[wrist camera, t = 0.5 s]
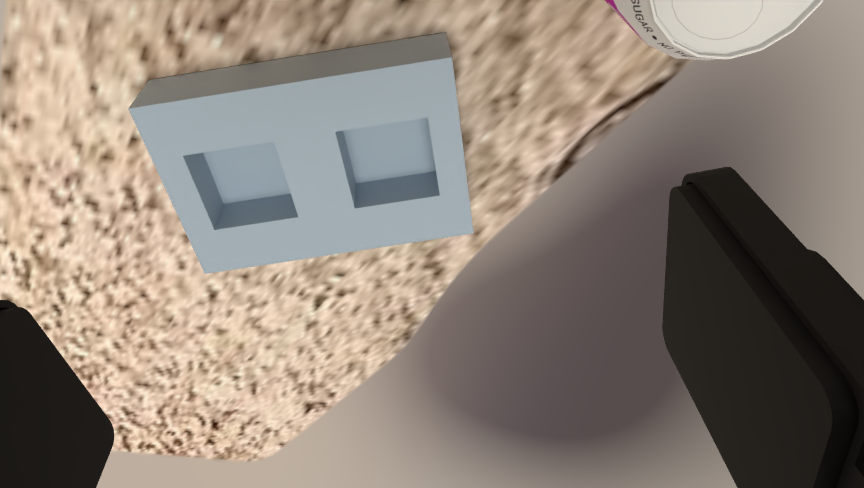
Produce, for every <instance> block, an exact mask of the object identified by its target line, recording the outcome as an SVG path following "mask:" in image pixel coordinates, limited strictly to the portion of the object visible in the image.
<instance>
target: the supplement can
mask: <svg viewBox="0 0 864 488" xmlns="http://www.w3.org/2000/svg"><path fill="white" fill-rule="evenodd" d="M605 1H606V2H607V3H608V4H609V5H610V6H611V7H612V8H613V9H614V10H615V11H616V13H617V14H618V15H619V16H620V17H621V18H622V19H623V20H624V21H625V22H626V23H627V24H628V25H629V26H630V27H631V28H632V29H633V30H634V31H635V33H636V34H637V35H638V36H639V37H640V38H641V39H642V40H643V41H644V42H645V43H646V44H648V45H650V46H652V47H654V48H656V49H658V50H660V51H662V52H664V53H666V54H668V55H670V56H672V57H674V58H680V59H696V60H712V59H732V58H735V57H739V56H743V55H746V54H750V53H754V52H757V51H761V50H763V49H765V48H766V47H768V46H770V45H771V44H773V43H775V42H776V41H778V40H780V39H781V38H783V37H785V36H786V35H788V34H790V33H792V32H793V31H794V30H795V29H796V28H797V27H798V26H799V25H800V24H801V23H802V22H803V21H804V20H805V19H806V18H807V17H808V16H809V15H810V14H811V13H812V12H813V11H814V10H815V9H816V8H817V7H818V6H819V5H820V4H821V3H822V2H823V0H605Z"/></svg>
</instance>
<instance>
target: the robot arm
mask: <svg viewBox="0 0 864 488" xmlns="http://www.w3.org/2000/svg"><path fill="white" fill-rule="evenodd" d="M663 308H664V309H663V336H664V340H665V344H666V347H667V349H668V352H669V353H670V356H671V358H672V360H673V362H674V363H675V365H676V367H677V369H678V371H679V373H680V375H681V377H682V379H683V381H684V383H685V385H686V387H687V389H688V391H689V393H690V395H691V397H692V399H693V401H694V403H695V405H696V407H697V409H698V411H699V413H700V415H701V417H702V419H703V421H704V423H705V424H706V426H707V428H708V430H709V432H710V434H711V436H712V438H713V440H714V442H715V444H716V446H717V448H718V450H719V452H720V454H721V456H722V458H723V460H724V462H725V464H726V466H727V468H728V470H729V472H730V474H731V476H732V478H733V480H734V482H735V484H736V485H737V487H738V488H864V300H863V299H862V298H861V297H860V296H859V295H858V294H857V293H856V291H855V290H854V289H853V288H852V287H851V286H850V285H849V284H848V283H847V282H846V281H845V280H844V279H843V278H842V276H841V275H840V274H839V273H838V272H837V271H836V270H835V269H834V268H833V267H832V266H831V265H830V264H829V263H828V262H827V260H826V259H825V258H823V257H822V256H821V255H820V254H818V253H817V252H815V251H812V250H808V249H806V247H805V246H804V245H803V244H802V243H801V242H800V241H799V240H798V239H797V238H796V237H795V235H794V234H793V233H792V232H791V231H790V230H789V229H788V228H787V227H786V226H785V224H784V223H783V222H782V221H781V220H780V219H779V218H778V217H777V216H776V215H775V214H774V212H773V211H772V210H771V209H770V208H769V207H768V206H767V205H766V204H765V203H764V202H763V200H762V199H761V198H760V197H759V196H758V195H757V194H756V193H755V192H754V191H753V190H752V189H751V187H750V186H749V185H748V184H747V183H746V182H745V181H744V180H743V179H742V178H741V177H740V175H739V174H738V173H737V172H736V171H735V170H734V169H732V168H731V167H723V168H719V169H712V170H707V171H701V172H696V173H691V174H687V175H686V176H685V177H684V179H683V181H682V186H678V187H674V188H672V190H671V192H670V199H669V217H668V235H667V253H666V272H665V289H664V307H663ZM113 442H114V430H113V426H112V424H111V422H110V420H109V419H108V417H107V416H106V415H105V413H104V412H103V411H102V409H101V408H100V407H99V405H98V404H97V402H96V401H95V400H94V398H93V397H92V396H91V394H90V393H89V392H88V390H87V389H86V388H85V386H84V385H83V384H82V382H81V381H80V380H79V378H78V377H77V376H76V374H75V373H74V372H73V370H72V369H71V368H70V366H69V365H68V364H67V362H66V361H65V359H64V358H63V357H62V355H61V354H60V353H59V351H58V350H57V349H56V347H55V346H54V345H53V343H52V342H51V341H50V339H49V338H48V337H47V335H46V334H45V333H44V331H43V330H42V329H41V327H40V326H39V325H38V323H37V322H36V320H35V319H34V318H33V316H32V315H31V314H30V313H29V312H28V311H27V310H26V309H24V308H21V307H17V306H16V305H15V304H14V303H12V302H10V301H8V300H0V488H96V486H97V484H98V481H99V479H100V476H101V474H102V471H103V469H104V466H105V463H106V461H107V459H108V456H109V454H110V451H111V449H112V446H113Z"/></svg>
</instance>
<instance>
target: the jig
mask: <svg viewBox="0 0 864 488" xmlns="http://www.w3.org/2000/svg"><path fill="white" fill-rule="evenodd" d="M129 111H130V113H131V115H132V117H133V120H134V122H135V124H136V126H137V128H138V130H139V133H140V135H141V137H142V139H143V141H144V143H145V146H146V148H147V150H148V152H149V154H150V156H151V158H152V161H153V163H154V165H155V167H156V169H157V171H158V174H159V176H160V178H161V180H162V182H163V184H164V187H165V189H166V191H167V193H168V195H169V197H170V199H171V202H172V204H173V206H174V208H175V210H176V212H177V215H178V217H179V219H180V221H181V223H182V225H183V228H184V230H185V232H186V234H187V236H188V238H189V240H190V243H191V245H192V247H193V249H194V251H195V253H196V256H197V258H198V260H199V262H200V264H201V266H202V268H203V271H204V273H205V274H207V273H214V272H220V271H227V270H233V269H240V268H247V267H253V266H260V265H267V264H273V263H280V262H286V261H293V260H300V259H306V258H313V257H320V256H326V255H333V254H339V253H346V252H353V251H359V250H366V249H373V248H379V247H386V246H392V245H399V244H406V243H412V242H419V241H426V240H432V239H439V238H445V237H452V236H459V235H465V234H472V233H473V225H472V217H471V209H470V200H469V192H468V184H467V176H466V168H465V159H464V151H463V143H462V135H461V127H460V118H459V110H458V102H457V94H456V86H455V77H454V69H453V61H452V55H451V51H450V47H449V43H448V39H447V35H446V32H445V33H438V34H432V35H426V36H420V37H413V38H407V39H401V40H395V41H389V42H382V43H376V44H370V45H364V46H357V47H351V48H345V49H339V50H332V51H326V52H320V53H314V54H308V55H301V56H295V57H289V58H283V59H276V60H270V61H264V62H258V63H251V64H245V65H239V66H233V67H226V68H220V69H214V70H208V71H202V72H195V73H189V74H183V75H177V76H170V77H164V78H158V79H152V80H149V81H148V82H147V84H146V85H145V86H144V88H143V89H142V91H141V92H140V93H139V95H138V96H137V98H136V99H135V100H134V102H133V103H132V104H131V106H130V107H129Z"/></svg>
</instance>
